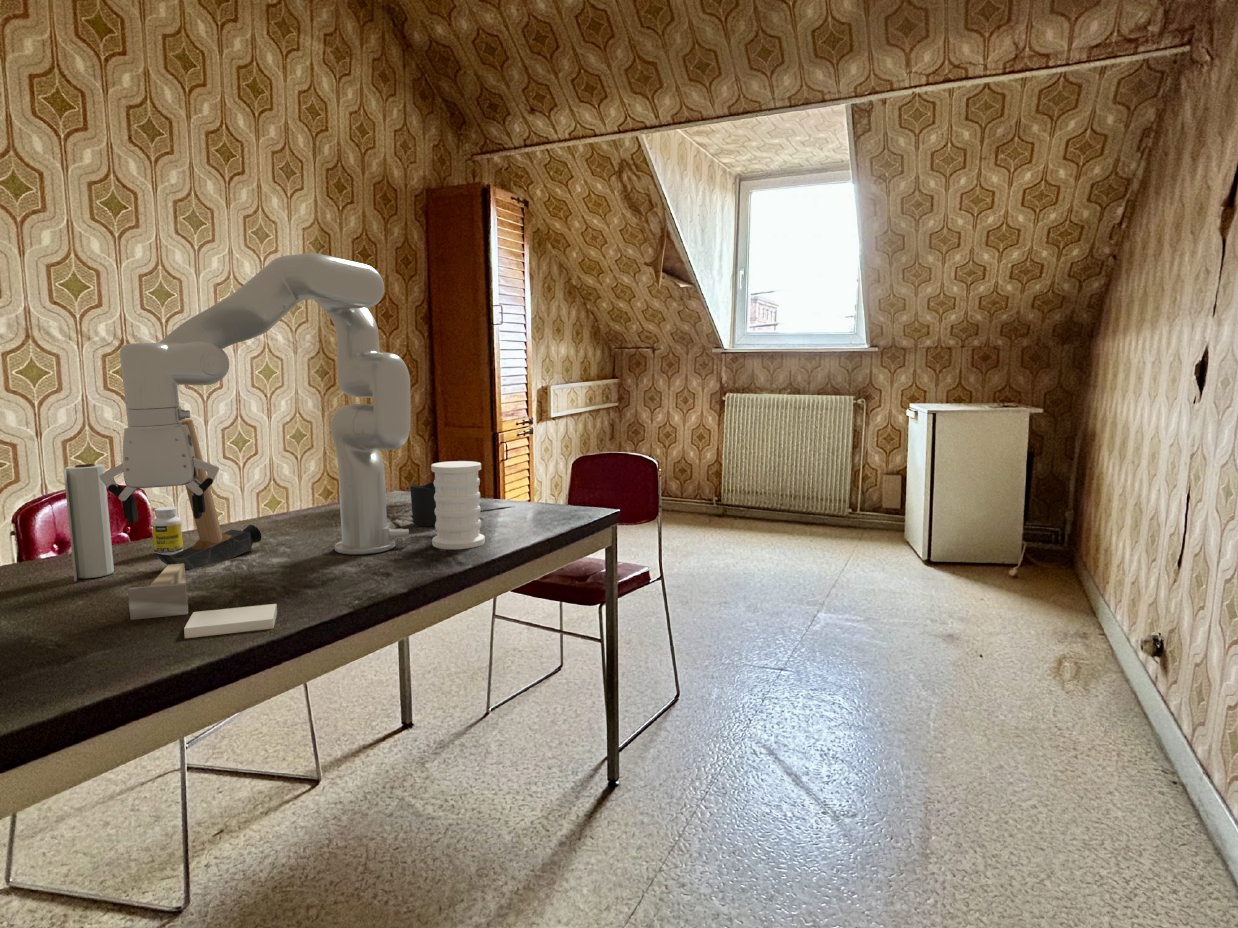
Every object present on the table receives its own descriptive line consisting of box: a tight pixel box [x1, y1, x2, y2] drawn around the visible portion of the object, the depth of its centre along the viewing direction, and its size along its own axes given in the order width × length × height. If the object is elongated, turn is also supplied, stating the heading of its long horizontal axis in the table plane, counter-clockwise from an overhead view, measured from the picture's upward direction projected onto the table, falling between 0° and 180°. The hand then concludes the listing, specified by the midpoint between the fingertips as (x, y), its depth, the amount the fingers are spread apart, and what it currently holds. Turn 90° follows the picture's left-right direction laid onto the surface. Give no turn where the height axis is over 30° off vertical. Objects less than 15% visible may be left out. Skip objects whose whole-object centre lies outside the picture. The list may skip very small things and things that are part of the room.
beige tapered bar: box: [127, 563, 190, 621], centre depth 129 cm, size 15×8×5 cm, turn 20°
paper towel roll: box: [63, 463, 115, 582], centre depth 145 cm, size 7×6×21 cm
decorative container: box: [430, 460, 486, 550], centre depth 170 cm, size 12×12×18 cm
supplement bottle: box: [151, 506, 184, 556], centre depth 163 cm, size 5×5×10 cm
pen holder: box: [409, 481, 436, 528], centre depth 192 cm, size 9×9×10 cm
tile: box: [183, 603, 278, 639], centre depth 118 cm, size 12×2×8 cm
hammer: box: [153, 418, 262, 570], centre depth 153 cm, size 20×5×30 cm, turn 153°
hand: (166, 519), depth 128 cm, fingers open, 9 cm apart
